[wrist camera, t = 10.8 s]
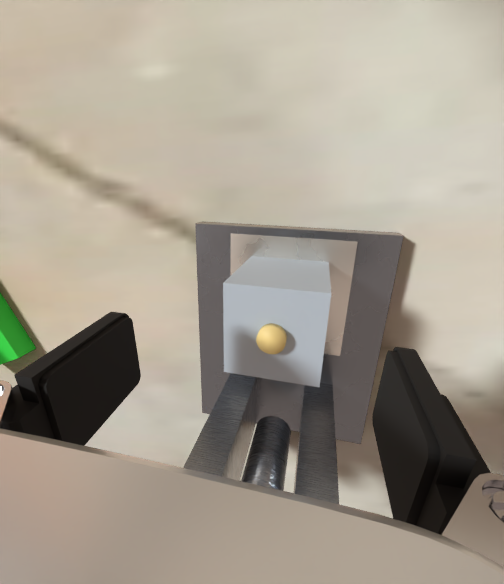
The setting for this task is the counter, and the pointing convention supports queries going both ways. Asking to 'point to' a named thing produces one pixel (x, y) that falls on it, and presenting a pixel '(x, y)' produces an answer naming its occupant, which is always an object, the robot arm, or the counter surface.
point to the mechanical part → (12, 335)
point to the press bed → (336, 361)
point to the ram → (268, 454)
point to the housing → (277, 319)
